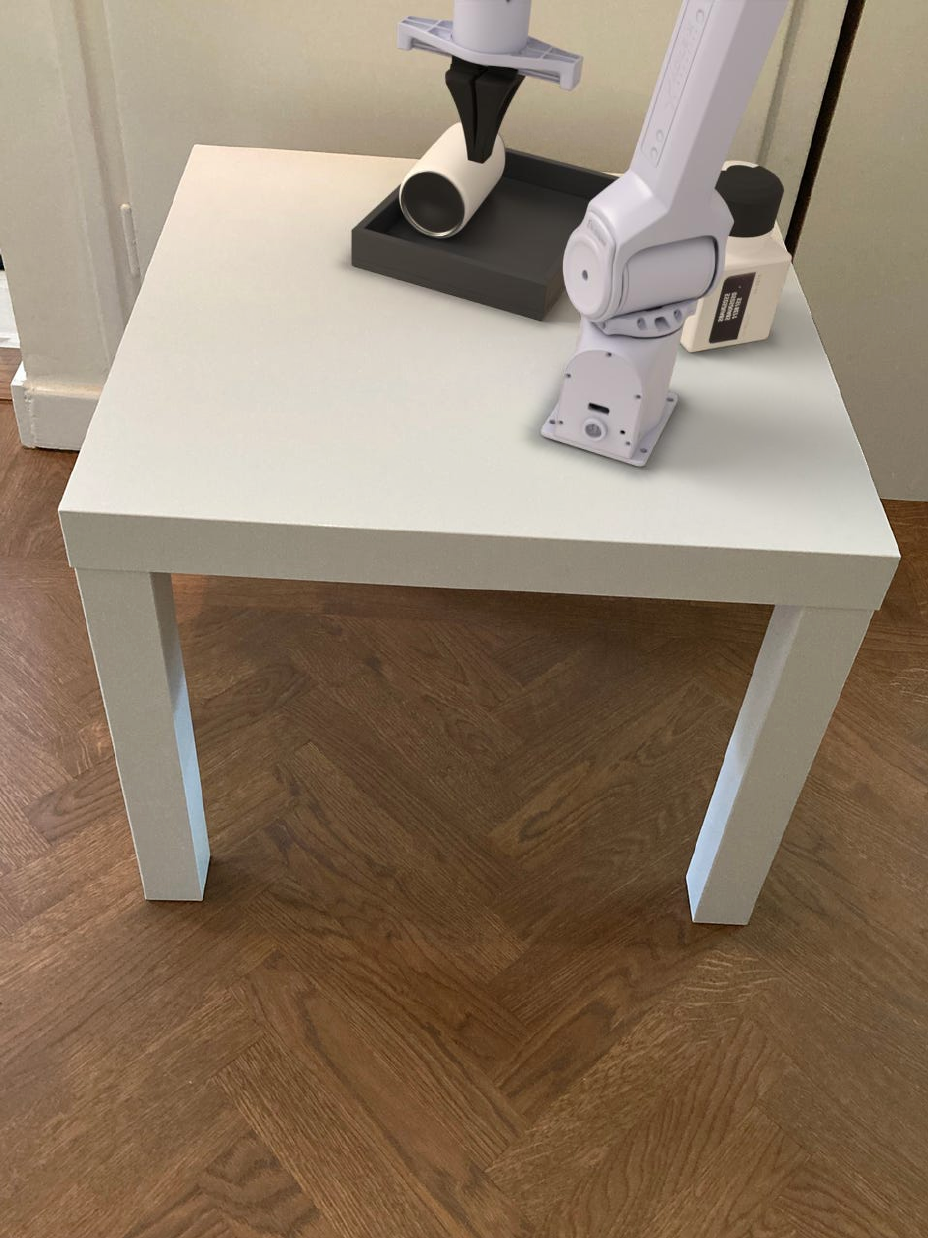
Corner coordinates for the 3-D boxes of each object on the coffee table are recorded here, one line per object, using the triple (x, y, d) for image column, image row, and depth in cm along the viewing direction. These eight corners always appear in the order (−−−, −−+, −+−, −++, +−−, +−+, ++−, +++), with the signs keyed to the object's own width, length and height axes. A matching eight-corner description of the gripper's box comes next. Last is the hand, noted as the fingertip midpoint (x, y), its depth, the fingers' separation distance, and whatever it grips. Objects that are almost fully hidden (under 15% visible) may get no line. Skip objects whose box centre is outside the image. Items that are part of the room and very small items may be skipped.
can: (482, 208, 98) (524, 151, 106) (426, 151, 96) (473, 98, 104) (437, 254, 102) (481, 197, 110) (383, 201, 100) (431, 147, 108)
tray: (542, 321, 95) (547, 285, 93) (351, 265, 99) (351, 229, 97) (621, 211, 109) (627, 178, 107) (451, 166, 113) (453, 133, 111)
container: (769, 340, 96) (814, 190, 86) (688, 354, 93) (726, 202, 84) (721, 292, 100) (760, 145, 91) (643, 304, 98) (674, 155, 89)
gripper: (605, -20, 85) (579, 159, 95) (427, -60, 88) (419, 118, 98) (574, 9, 81) (549, 194, 90) (387, -34, 84) (383, 150, 94)
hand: (479, 157), depth 94 cm, fingers closed
